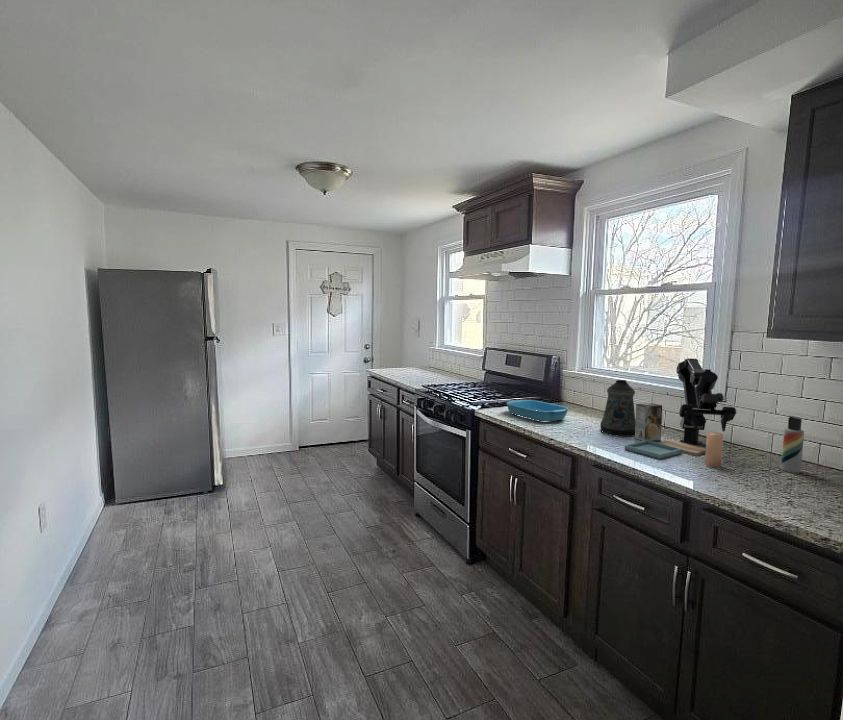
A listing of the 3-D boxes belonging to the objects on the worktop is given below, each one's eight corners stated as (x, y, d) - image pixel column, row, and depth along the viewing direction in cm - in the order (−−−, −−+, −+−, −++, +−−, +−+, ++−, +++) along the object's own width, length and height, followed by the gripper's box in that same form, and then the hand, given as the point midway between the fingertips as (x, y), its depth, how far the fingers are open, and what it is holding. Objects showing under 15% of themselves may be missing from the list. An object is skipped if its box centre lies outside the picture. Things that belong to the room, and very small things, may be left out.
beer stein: (602, 435, 219) (604, 382, 217) (597, 426, 238) (599, 377, 236) (640, 437, 216) (643, 383, 213) (632, 428, 234) (634, 378, 232)
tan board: (670, 442, 208) (670, 439, 207) (710, 452, 193) (710, 449, 193) (655, 446, 202) (655, 443, 202) (696, 456, 187) (696, 453, 187)
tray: (646, 444, 203) (646, 440, 203) (681, 453, 191) (681, 448, 190) (624, 450, 195) (625, 445, 195) (659, 459, 183) (660, 454, 182)
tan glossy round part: (709, 462, 180) (711, 431, 178) (723, 466, 175) (726, 434, 174) (702, 464, 177) (704, 433, 176) (716, 468, 172) (718, 436, 171)
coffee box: (650, 436, 217) (652, 402, 216) (661, 440, 211) (663, 405, 210) (634, 438, 215) (635, 403, 213) (644, 441, 209) (646, 406, 207)
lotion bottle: (781, 467, 174) (785, 414, 172) (800, 470, 171) (805, 416, 169) (780, 471, 170) (784, 416, 168) (800, 474, 166) (805, 419, 164)
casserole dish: (498, 413, 269) (499, 400, 269) (528, 409, 280) (528, 397, 280) (545, 426, 237) (545, 412, 237) (576, 422, 248) (576, 408, 248)
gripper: (682, 384, 187) (687, 416, 178) (736, 386, 181) (744, 420, 172) (677, 400, 195) (681, 432, 186) (728, 403, 190) (735, 436, 180)
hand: (710, 430), depth 181 cm, fingers open, 9 cm apart
